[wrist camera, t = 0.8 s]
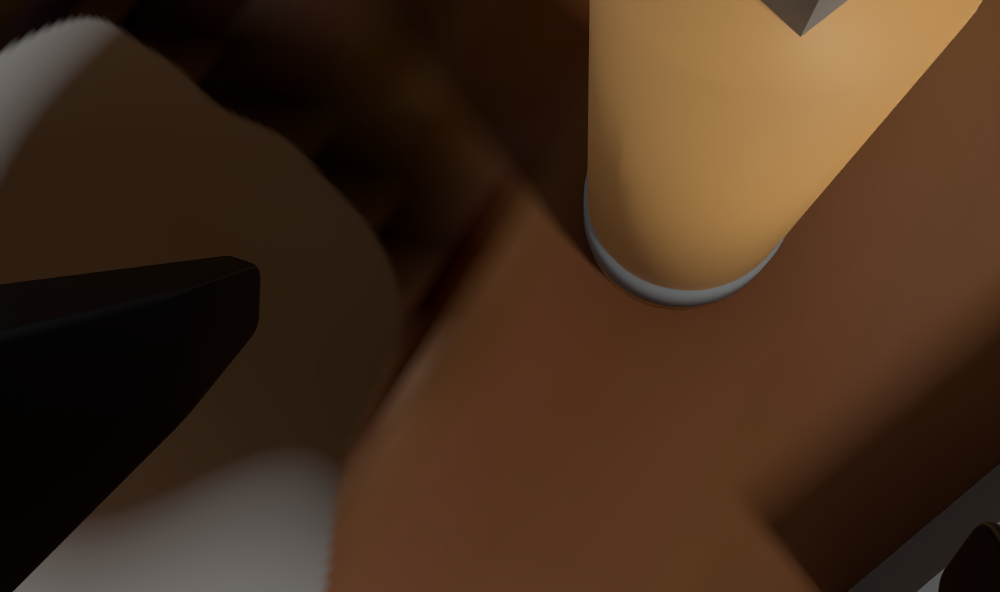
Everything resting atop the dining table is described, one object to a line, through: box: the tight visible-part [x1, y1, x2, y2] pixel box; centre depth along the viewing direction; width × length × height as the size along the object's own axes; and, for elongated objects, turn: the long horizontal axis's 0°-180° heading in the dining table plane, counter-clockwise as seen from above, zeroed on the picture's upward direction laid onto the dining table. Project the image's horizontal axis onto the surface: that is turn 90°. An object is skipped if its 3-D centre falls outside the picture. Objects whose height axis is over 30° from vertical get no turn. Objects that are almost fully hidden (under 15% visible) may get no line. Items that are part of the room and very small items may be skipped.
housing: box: [584, 0, 982, 310], centre depth 16 cm, size 6×6×15 cm
